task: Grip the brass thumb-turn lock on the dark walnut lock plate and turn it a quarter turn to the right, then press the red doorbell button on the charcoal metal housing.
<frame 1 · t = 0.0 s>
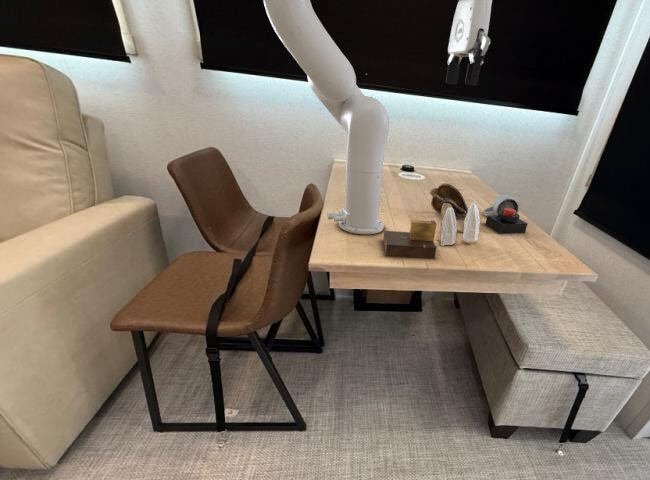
hand: (460, 84, 82), 37 cm above the table, tool pointing down, fingers open, 9 cm apart
bell button: (509, 212, 103), point 5 cm above the table, slide at 0.1 cm
bell block: (504, 228, 106), on the table
lock plate: (407, 249, 83), on the table
lock knob: (422, 230, 80), point 5 cm above the table, hinge at 0.0°
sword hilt: (447, 225, 103), on the table
shaker set: (458, 243, 91), on the table
ceramic mug: (498, 217, 116), on the table
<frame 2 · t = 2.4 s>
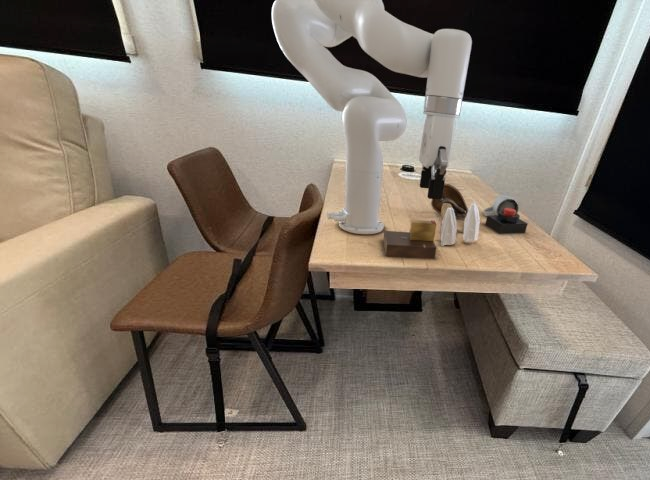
hand: (430, 193, 76), 14 cm above the table, tool pointing down, fingers open, 9 cm apart
nothing on the table moved.
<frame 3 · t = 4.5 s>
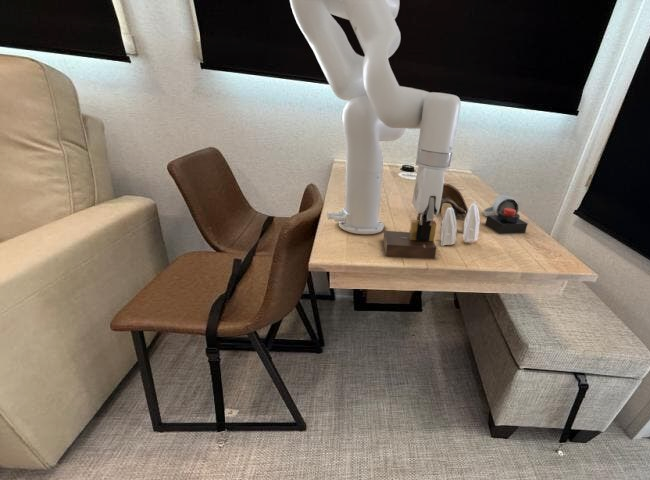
hand: (421, 237, 81), 3 cm above the table, tool pointing down, fingers closed on lock knob, 2 cm apart
lock knob: (422, 230, 80), point 5 cm above the table, hinge at 0.0°, touching gripper
everything else where it was.
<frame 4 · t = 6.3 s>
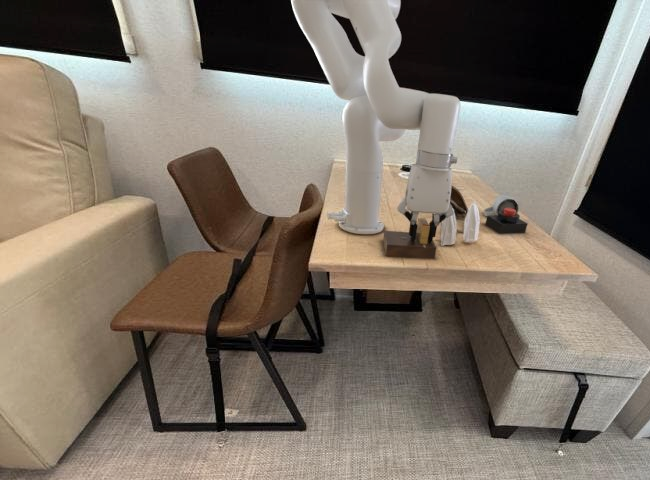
hand: (421, 238, 81), 3 cm above the table, tool pointing down, fingers open, 3 cm apart
lock knob: (422, 230, 80), point 5 cm above the table, hinge at -89.9°
everything else where it was.
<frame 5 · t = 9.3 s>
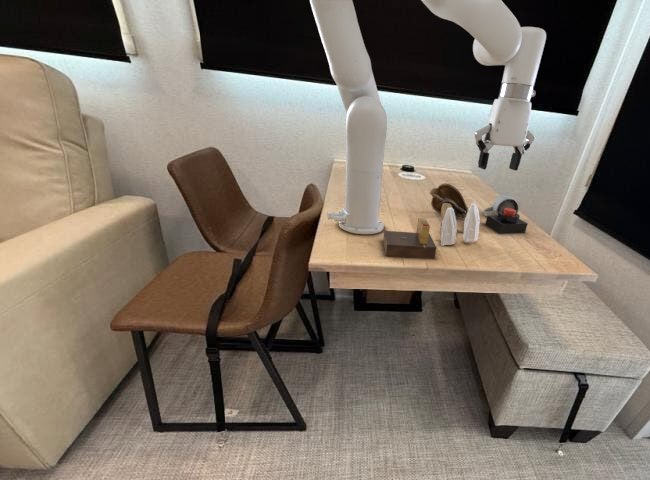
hand: (497, 168, 88), 19 cm above the table, tool pointing down, fingers open, 9 cm apart
nothing on the table moved.
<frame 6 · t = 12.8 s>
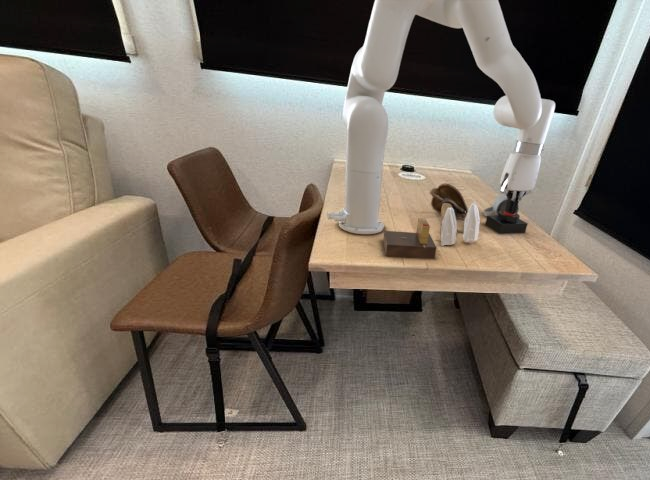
hand: (509, 212, 103), 5 cm above the table, tool pointing down, fingers closed
bell button: (508, 215, 103), point 5 cm above the table, slide at -0.8 cm, touching gripper
everything else where it was.
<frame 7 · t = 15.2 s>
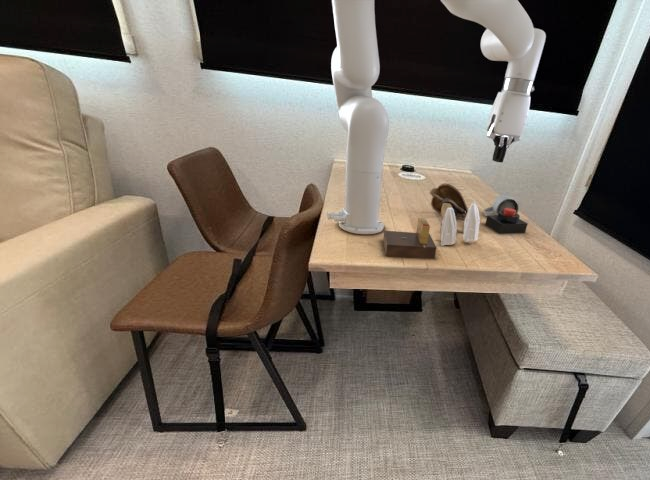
hand: (497, 161, 97), 19 cm above the table, tool pointing down, fingers closed
bell button: (509, 212, 103), point 5 cm above the table, slide at 0.1 cm
everything else where it was.
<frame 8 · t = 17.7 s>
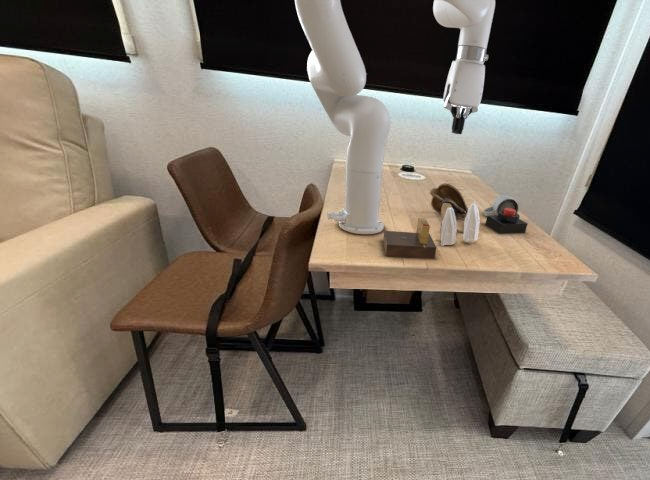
hand: (456, 133, 97), 25 cm above the table, tool pointing down, fingers closed
nothing on the table moved.
at the end: lock knob at -90° (first picture: +0°); bell button pushed in 1.1 cm at the most during the clip, back to where it started at the end; bell button slide at 0.1 cm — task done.
